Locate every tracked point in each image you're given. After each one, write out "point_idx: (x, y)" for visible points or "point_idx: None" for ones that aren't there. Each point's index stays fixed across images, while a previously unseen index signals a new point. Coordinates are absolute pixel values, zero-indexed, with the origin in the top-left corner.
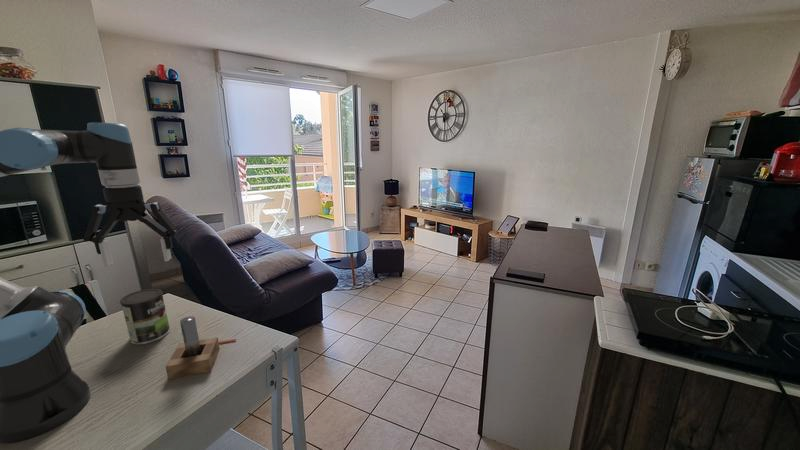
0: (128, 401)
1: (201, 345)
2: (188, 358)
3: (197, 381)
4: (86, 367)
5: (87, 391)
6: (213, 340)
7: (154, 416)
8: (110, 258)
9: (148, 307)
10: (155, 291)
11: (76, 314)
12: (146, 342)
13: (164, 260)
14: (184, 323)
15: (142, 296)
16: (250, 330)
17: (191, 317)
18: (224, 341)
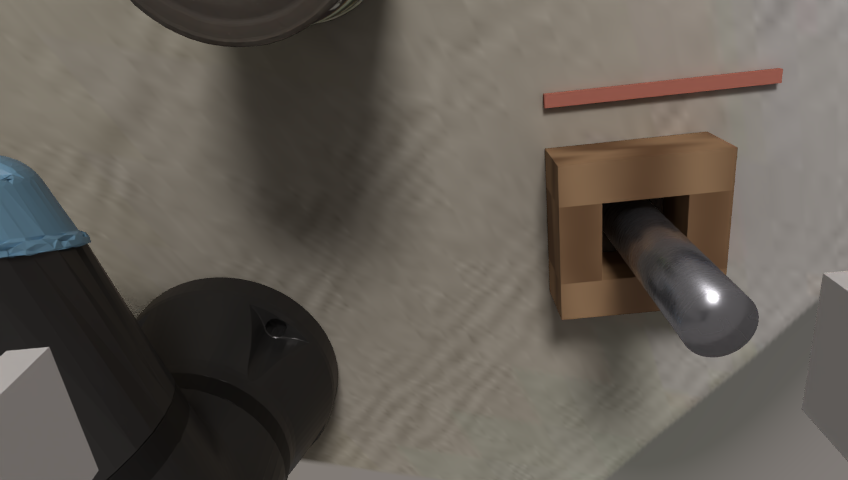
0: (463, 367)
1: (666, 194)
2: (638, 287)
3: (659, 318)
4: (173, 164)
5: (323, 354)
6: (720, 172)
7: (573, 431)
8: (11, 450)
9: (334, 4)
10: None
11: (89, 345)
12: (327, 20)
13: (811, 418)
14: (711, 356)
15: None
16: None
17: (736, 303)
18: (726, 83)
